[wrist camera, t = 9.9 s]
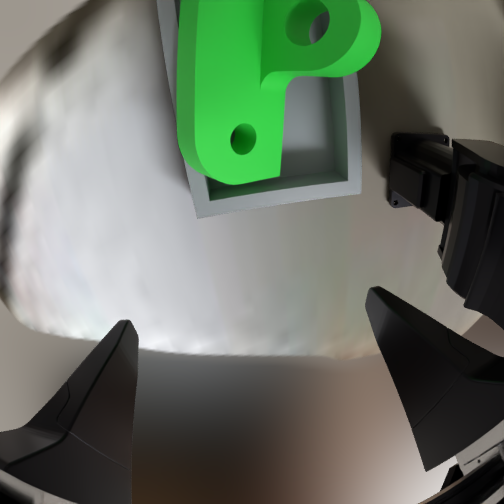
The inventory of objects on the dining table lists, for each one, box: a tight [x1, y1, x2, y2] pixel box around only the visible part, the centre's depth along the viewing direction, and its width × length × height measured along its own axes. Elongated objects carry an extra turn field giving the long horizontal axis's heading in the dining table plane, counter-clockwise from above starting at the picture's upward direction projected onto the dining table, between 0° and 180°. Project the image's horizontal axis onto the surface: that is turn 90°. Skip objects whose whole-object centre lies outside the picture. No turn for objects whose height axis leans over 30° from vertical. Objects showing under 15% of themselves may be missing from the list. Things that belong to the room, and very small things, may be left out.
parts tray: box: [156, 0, 362, 219], centre depth 14 cm, size 11×17×3 cm, turn 8°
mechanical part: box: [177, 0, 381, 185], centre depth 11 cm, size 12×6×8 cm
